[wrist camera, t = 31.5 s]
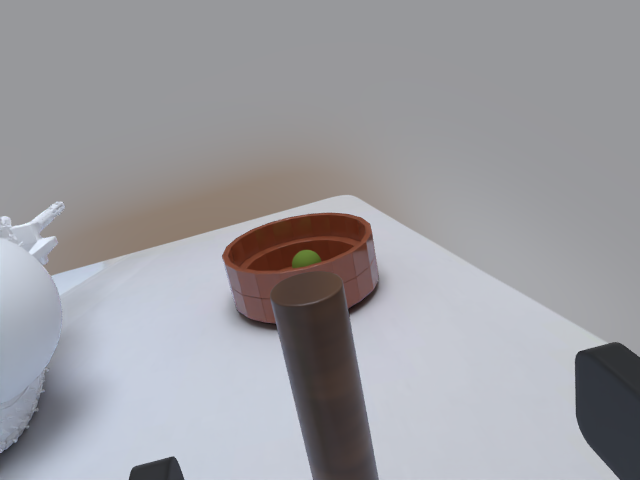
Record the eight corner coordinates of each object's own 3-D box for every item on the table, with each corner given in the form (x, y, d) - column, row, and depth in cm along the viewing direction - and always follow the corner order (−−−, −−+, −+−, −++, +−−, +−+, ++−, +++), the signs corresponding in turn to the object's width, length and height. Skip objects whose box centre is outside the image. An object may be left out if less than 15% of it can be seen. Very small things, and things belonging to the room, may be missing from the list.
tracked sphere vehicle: (35, 306, 68) (-30, 147, 60) (152, 282, 68) (100, 122, 61) (-174, 558, 35) (-371, 277, 28) (52, 509, 35) (-84, 220, 28)
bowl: (373, 252, 64) (365, 204, 62) (386, 316, 50) (377, 257, 48) (246, 272, 66) (235, 226, 63) (225, 341, 51) (209, 284, 49)
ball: (316, 240, 58) (287, 247, 59) (320, 262, 56) (289, 269, 56) (322, 260, 61) (294, 267, 61) (326, 282, 58) (296, 288, 59)
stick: (391, 538, 29) (342, 265, 23) (396, 592, 26) (343, 299, 21) (335, 544, 29) (273, 276, 24) (335, 599, 27) (265, 310, 21)
